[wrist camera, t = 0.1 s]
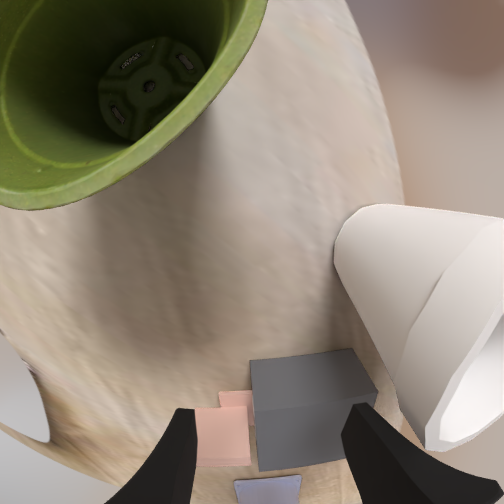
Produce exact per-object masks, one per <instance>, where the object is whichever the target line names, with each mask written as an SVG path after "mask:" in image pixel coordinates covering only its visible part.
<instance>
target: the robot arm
mask: <svg viewBox="0 0 504 504" xmlns="http://www.w3.org/2000/svg"><path fill="white" fill-rule="evenodd" d="M341 439H342V444H343V448H344V453H345V456H346V459H347V462H348V464H349V467H350V470H351V472H352V475H353V477H354V480H355V483H356V485H357V488H358V490H359V493H360V496H361V499H362V503H363V504H494V503H495V502H496V501H498V500H499V499H500V498H501V497H502V496H503V495H504V492H503V490H502V489H501V487H500V486H499V484H498V483H497V481H496V480H491V479H486V478H482V477H477V476H474V475H471V474H468V473H465V472H462V471H459V470H457V469H455V468H453V467H450V466H448V465H446V464H444V463H442V462H440V461H438V460H437V459H435V458H433V457H432V456H430V455H428V454H427V453H425V452H424V451H422V450H421V449H419V448H418V447H417V446H415V445H414V444H413V443H411V442H410V441H409V440H408V439H406V438H405V437H404V436H403V435H401V434H400V433H399V432H398V431H397V430H396V429H395V428H393V427H392V426H391V425H390V424H389V423H388V422H387V421H386V420H385V419H384V418H383V417H382V416H381V415H379V414H378V413H377V412H376V411H375V410H374V409H373V408H372V407H371V406H370V405H369V404H368V403H367V402H364V403H358V404H353V406H352V408H351V411H350V413H349V415H348V418H347V420H346V423H345V425H344V427H343V430H342V432H341ZM197 447H198V437H197V428H196V419H195V409H183V408H178V409H176V410H175V413H174V415H173V417H172V419H171V421H170V423H169V425H168V427H167V429H166V431H165V432H164V434H163V436H162V437H161V439H160V441H159V442H158V444H157V445H156V447H155V448H154V450H153V451H152V453H151V454H150V456H149V457H148V458H147V460H146V461H145V462H144V464H143V465H142V466H141V467H140V469H139V470H138V471H137V472H136V473H135V475H134V476H133V477H132V478H131V479H130V480H129V481H128V482H127V483H126V484H125V485H124V486H123V487H122V488H121V489H120V490H119V491H118V492H117V493H116V494H115V495H114V496H113V497H112V498H110V499H109V500H108V501H107V502H106V503H104V504H190V499H191V493H192V487H193V481H194V475H195V469H196V463H197ZM301 479H302V477H301V475H292V476H285V477H276V478H266V479H253V480H236V481H234V487H235V491H236V495H237V499H238V503H239V504H300V503H299V498H298V495H299V490H300V485H301Z"/></svg>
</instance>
